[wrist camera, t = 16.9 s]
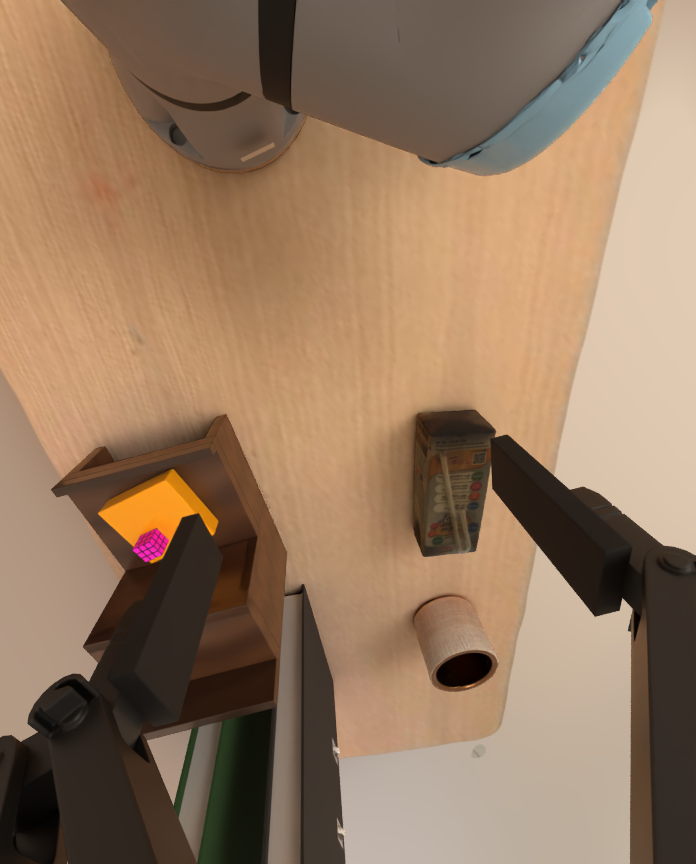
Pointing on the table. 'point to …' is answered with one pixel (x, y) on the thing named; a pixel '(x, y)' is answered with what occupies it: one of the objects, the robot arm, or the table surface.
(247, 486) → the step shelf
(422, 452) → the beverage carton
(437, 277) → the table surface
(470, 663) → the planter
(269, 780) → the books
